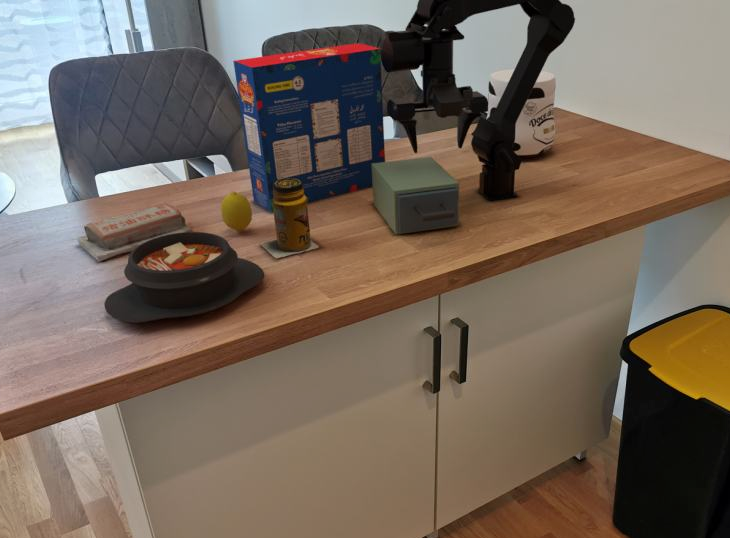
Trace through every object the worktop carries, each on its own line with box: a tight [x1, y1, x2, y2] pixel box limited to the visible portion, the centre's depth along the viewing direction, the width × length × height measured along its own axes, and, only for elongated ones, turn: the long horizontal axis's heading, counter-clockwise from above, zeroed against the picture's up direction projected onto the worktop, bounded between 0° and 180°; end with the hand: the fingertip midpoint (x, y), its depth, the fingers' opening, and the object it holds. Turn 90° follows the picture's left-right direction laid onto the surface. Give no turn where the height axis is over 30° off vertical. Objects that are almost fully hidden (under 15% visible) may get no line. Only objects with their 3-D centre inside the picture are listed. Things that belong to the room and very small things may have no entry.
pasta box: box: [233, 42, 386, 214], centre depth 149 cm, size 28×8×28 cm, turn 127°
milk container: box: [485, 68, 556, 159], centre depth 173 cm, size 17×17×18 cm
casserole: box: [103, 231, 265, 324], centre depth 114 cm, size 25×19×8 cm
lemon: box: [220, 191, 253, 233], centre depth 136 cm, size 6×6×8 cm
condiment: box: [260, 178, 320, 259], centre depth 129 cm, size 7×8×12 cm
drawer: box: [398, 188, 459, 232], centre depth 139 cm, size 21×11×7 cm, turn 18°
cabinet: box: [371, 156, 460, 235], centre depth 142 cm, size 17×13×9 cm
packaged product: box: [76, 202, 193, 262], centre depth 134 cm, size 18×5×10 cm
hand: (437, 150), depth 142 cm, fingers open, 9 cm apart
